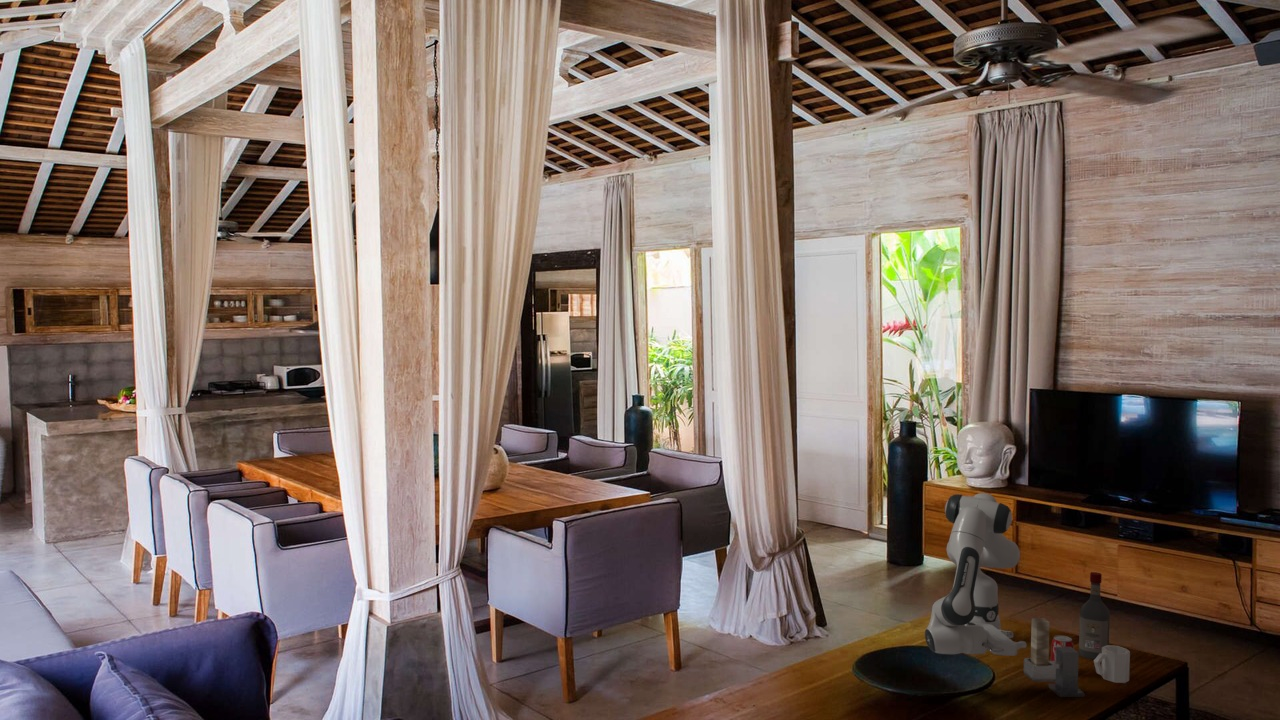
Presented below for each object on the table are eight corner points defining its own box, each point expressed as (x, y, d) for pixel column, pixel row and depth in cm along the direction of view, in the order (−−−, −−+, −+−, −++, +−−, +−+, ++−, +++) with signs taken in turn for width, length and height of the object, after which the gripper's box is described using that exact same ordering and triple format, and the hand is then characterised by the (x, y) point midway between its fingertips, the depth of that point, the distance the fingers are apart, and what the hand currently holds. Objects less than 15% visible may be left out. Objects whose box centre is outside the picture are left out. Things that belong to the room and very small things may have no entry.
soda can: (1075, 677, 320) (1076, 642, 319) (1053, 675, 321) (1054, 640, 321) (1070, 669, 327) (1071, 635, 326) (1048, 667, 328) (1049, 633, 327)
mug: (1116, 672, 324) (1117, 644, 324) (1135, 681, 316) (1135, 653, 315) (1086, 675, 321) (1087, 647, 321) (1104, 685, 313) (1105, 656, 312)
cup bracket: (1033, 697, 303) (1034, 654, 302) (1022, 687, 311) (1023, 645, 310) (1084, 696, 304) (1085, 654, 303) (1072, 686, 312) (1073, 645, 311)
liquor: (1106, 662, 333) (1108, 578, 332) (1078, 657, 338) (1080, 574, 336) (1109, 654, 341) (1111, 572, 339) (1081, 649, 346) (1083, 568, 344)
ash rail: (1035, 677, 305) (1037, 622, 304) (1030, 672, 309) (1031, 618, 308) (1048, 677, 305) (1049, 622, 304) (1042, 672, 309) (1043, 618, 308)
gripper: (990, 641, 295) (1033, 640, 295) (965, 620, 315) (1005, 619, 316) (989, 661, 295) (1033, 660, 296) (964, 638, 315) (1005, 638, 316)
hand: (1018, 639), depth 306 cm, fingers open, 8 cm apart
